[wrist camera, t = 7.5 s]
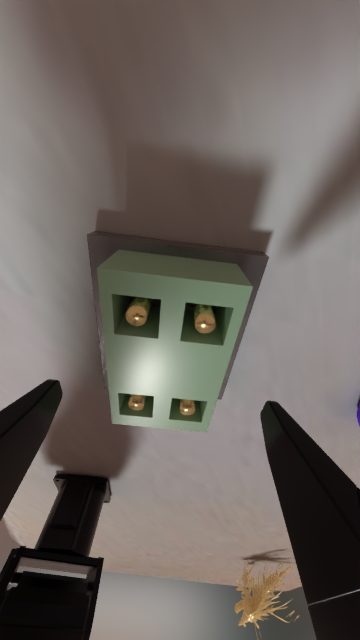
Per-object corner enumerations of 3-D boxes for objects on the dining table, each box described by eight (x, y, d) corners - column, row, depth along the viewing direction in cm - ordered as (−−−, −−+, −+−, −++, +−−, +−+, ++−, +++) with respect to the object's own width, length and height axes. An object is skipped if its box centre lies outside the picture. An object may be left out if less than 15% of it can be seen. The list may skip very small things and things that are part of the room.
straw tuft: (281, 549, 50) (315, 609, 42) (229, 589, 48) (254, 659, 40) (272, 534, 44) (309, 600, 36) (213, 579, 43) (238, 658, 35)
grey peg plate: (219, 389, 17) (227, 438, 14) (108, 378, 17) (88, 425, 13) (262, 252, 11) (295, 278, 8) (94, 231, 11) (52, 249, 7)
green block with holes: (203, 393, 16) (206, 432, 13) (124, 385, 16) (112, 423, 13) (237, 263, 11) (252, 286, 8) (118, 249, 10) (96, 268, 8)
